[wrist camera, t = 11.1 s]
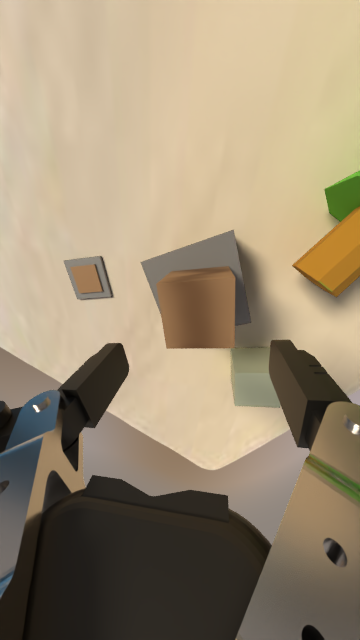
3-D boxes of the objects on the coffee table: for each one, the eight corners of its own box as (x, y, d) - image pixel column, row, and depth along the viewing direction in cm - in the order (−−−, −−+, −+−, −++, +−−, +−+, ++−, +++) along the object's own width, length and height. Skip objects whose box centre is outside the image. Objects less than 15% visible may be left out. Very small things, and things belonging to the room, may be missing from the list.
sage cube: (270, 347, 28) (284, 373, 22) (267, 377, 30) (280, 407, 25) (230, 347, 29) (234, 372, 24) (230, 376, 31) (234, 405, 26)
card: (101, 255, 26) (98, 256, 25) (112, 295, 28) (109, 297, 28) (65, 260, 27) (61, 260, 26) (78, 298, 29) (76, 299, 29)
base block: (228, 231, 22) (233, 229, 17) (243, 304, 26) (251, 322, 20) (155, 256, 25) (140, 262, 20) (178, 320, 29) (170, 339, 23)
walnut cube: (228, 266, 18) (235, 277, 13) (228, 319, 21) (234, 348, 15) (171, 271, 19) (156, 283, 14) (177, 321, 22) (166, 348, 16)
